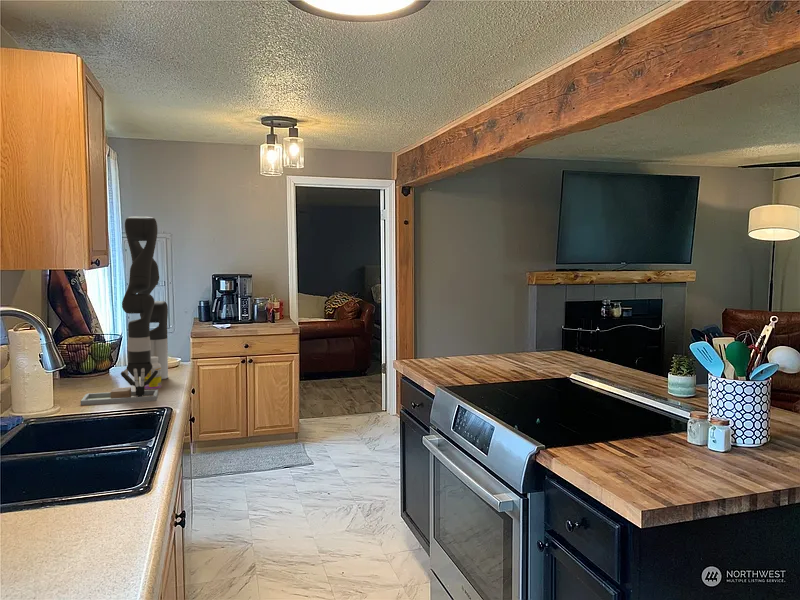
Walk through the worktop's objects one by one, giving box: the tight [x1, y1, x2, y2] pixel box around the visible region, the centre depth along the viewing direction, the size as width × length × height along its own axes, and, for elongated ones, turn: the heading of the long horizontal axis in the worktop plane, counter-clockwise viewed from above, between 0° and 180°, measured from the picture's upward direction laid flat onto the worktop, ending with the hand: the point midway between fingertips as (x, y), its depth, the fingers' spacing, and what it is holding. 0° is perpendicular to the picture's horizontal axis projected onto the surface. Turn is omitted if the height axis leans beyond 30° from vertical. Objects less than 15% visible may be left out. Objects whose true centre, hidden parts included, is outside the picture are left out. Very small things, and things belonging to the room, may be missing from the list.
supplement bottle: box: [144, 356, 162, 390], centre depth 229 cm, size 7×7×13 cm
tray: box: [80, 389, 159, 406], centre depth 210 cm, size 11×24×2 cm, turn 109°
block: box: [110, 386, 132, 398], centre depth 210 cm, size 6×6×4 cm
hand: (140, 396), depth 212 cm, fingers closed
